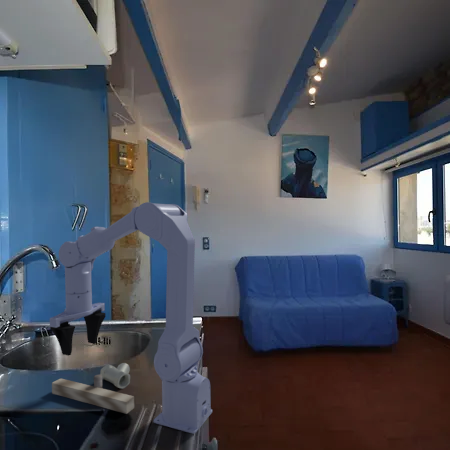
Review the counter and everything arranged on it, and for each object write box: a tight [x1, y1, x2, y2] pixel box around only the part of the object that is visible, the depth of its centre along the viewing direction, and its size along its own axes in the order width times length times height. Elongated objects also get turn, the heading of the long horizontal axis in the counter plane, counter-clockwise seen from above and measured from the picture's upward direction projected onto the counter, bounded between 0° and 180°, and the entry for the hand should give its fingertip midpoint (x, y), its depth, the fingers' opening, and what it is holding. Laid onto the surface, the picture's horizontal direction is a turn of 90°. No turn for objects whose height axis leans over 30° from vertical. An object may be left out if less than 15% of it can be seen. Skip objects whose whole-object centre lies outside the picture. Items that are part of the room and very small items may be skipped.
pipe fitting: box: [99, 362, 131, 389], centre depth 84 cm, size 8×4×7 cm
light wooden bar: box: [51, 374, 135, 415], centre depth 75 cm, size 22×4×4 cm, turn 67°
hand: (80, 348), depth 79 cm, fingers open, 7 cm apart
